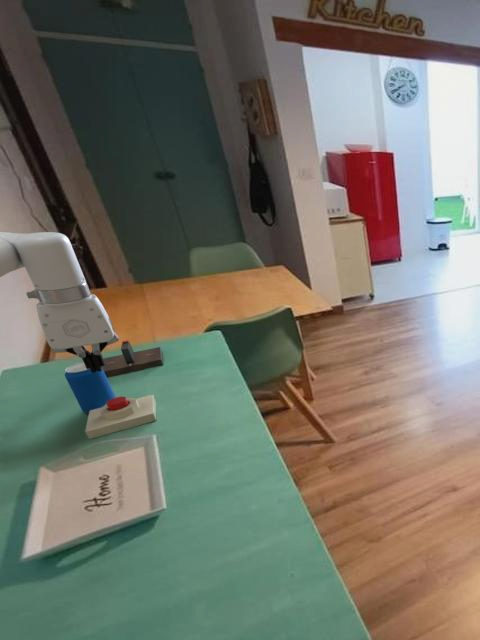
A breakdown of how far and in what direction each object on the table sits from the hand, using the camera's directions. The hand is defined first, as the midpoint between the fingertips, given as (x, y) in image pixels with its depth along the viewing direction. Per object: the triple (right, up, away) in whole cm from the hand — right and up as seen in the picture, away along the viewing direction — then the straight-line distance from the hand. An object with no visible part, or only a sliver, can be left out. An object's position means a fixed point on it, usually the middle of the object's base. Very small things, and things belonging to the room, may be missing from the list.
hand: (97, 369), depth 95 cm
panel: (-19, -1, +29) cm, 35 cm away
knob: (-18, +1, +28) cm, 34 cm away
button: (0, -9, +5) cm, 10 cm away
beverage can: (-9, -11, +10) cm, 17 cm away
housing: (0, -13, +6) cm, 14 cm away
